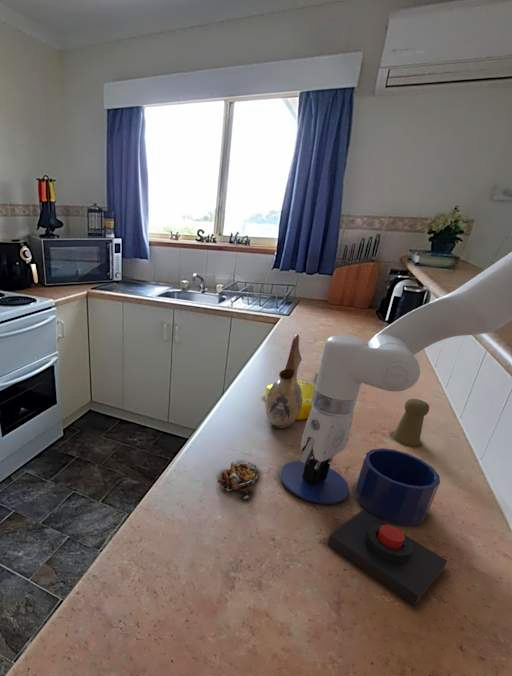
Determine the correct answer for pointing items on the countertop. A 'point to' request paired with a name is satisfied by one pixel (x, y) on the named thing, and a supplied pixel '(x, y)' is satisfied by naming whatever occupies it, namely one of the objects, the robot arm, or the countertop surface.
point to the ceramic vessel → (286, 392)
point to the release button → (391, 537)
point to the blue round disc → (322, 493)
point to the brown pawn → (411, 422)
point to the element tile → (306, 398)
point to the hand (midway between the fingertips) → (314, 478)
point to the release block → (388, 557)
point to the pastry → (239, 478)
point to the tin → (396, 486)
